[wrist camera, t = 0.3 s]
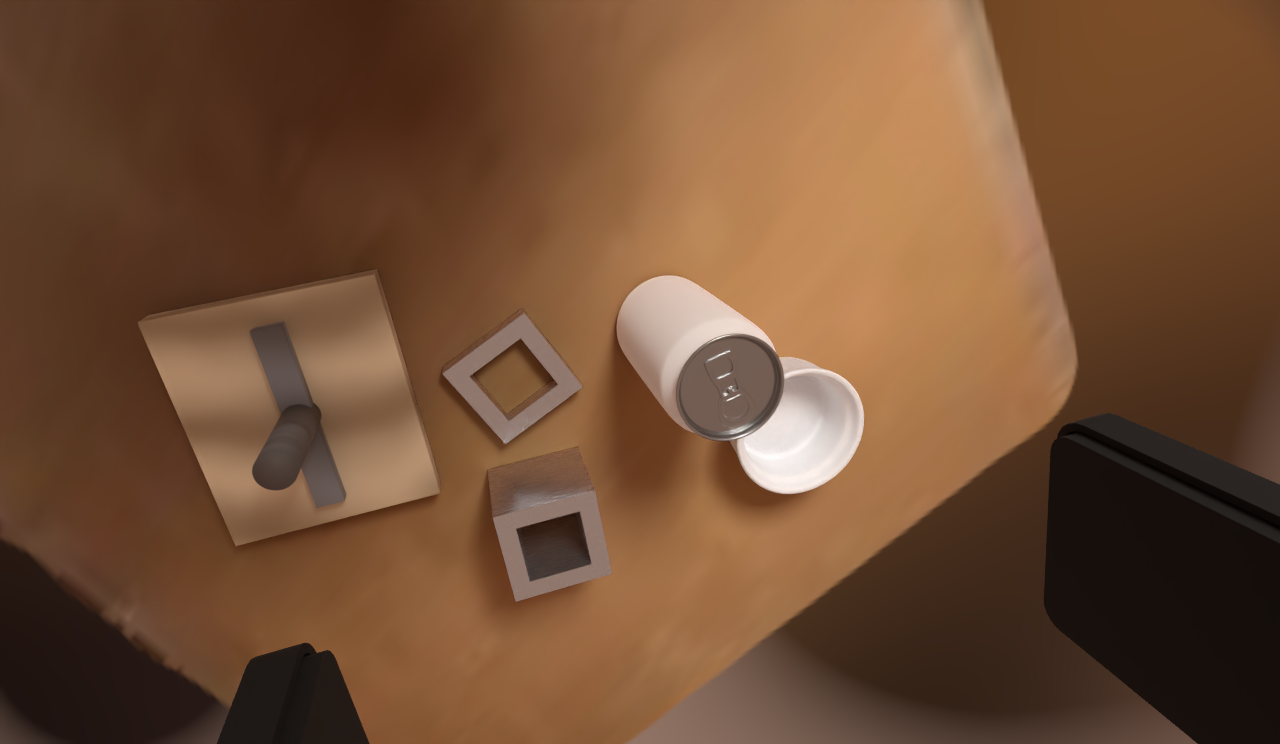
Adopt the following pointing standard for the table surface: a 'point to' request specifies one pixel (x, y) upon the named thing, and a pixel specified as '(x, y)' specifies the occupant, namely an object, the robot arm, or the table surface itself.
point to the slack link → (489, 348)
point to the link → (548, 523)
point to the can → (700, 358)
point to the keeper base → (337, 386)
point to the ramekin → (804, 431)
